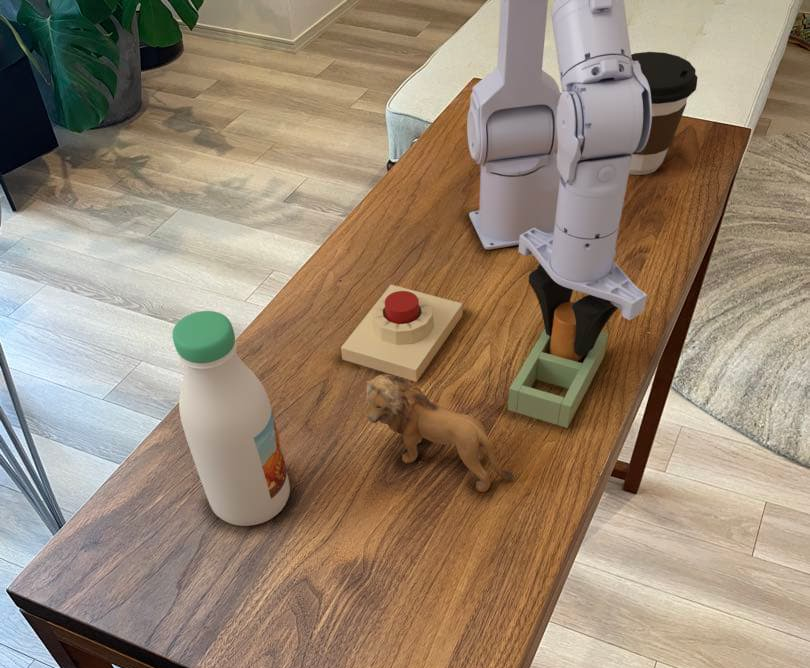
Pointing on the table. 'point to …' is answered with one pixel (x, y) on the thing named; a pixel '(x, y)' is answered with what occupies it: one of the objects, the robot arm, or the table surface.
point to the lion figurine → (429, 424)
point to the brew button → (401, 307)
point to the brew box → (402, 336)
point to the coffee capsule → (564, 333)
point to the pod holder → (554, 382)
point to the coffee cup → (663, 104)
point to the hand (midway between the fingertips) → (569, 340)
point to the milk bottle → (228, 423)
